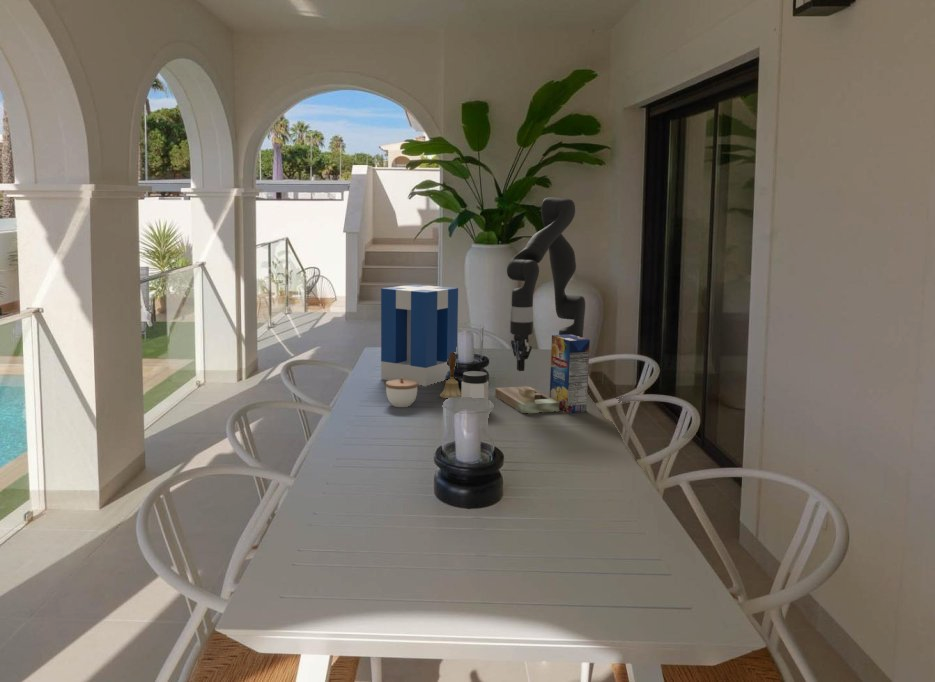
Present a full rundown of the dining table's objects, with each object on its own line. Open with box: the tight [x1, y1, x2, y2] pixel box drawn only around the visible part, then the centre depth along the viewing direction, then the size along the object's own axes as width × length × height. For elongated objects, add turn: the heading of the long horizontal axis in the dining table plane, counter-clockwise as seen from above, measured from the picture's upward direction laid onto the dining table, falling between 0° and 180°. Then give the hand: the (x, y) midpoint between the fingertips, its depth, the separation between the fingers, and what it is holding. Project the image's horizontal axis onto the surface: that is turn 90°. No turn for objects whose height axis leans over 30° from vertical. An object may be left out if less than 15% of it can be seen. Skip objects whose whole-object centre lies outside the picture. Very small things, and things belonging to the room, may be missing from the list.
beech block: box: [519, 386, 535, 403], centre depth 262 cm, size 4×4×4 cm
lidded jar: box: [385, 378, 419, 408], centre depth 265 cm, size 11×11×9 cm
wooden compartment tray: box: [494, 385, 560, 414], centre depth 271 cm, size 13×25×3 cm, turn 19°
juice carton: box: [549, 334, 591, 414], centre depth 264 cm, size 12×8×24 cm, turn 23°
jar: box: [460, 370, 489, 400], centre depth 261 cm, size 9×8×12 cm
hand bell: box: [439, 352, 461, 399], centre depth 278 cm, size 8×8×16 cm
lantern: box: [380, 284, 459, 387], centre depth 305 cm, size 21×21×35 cm
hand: (520, 370), depth 267 cm, fingers closed
